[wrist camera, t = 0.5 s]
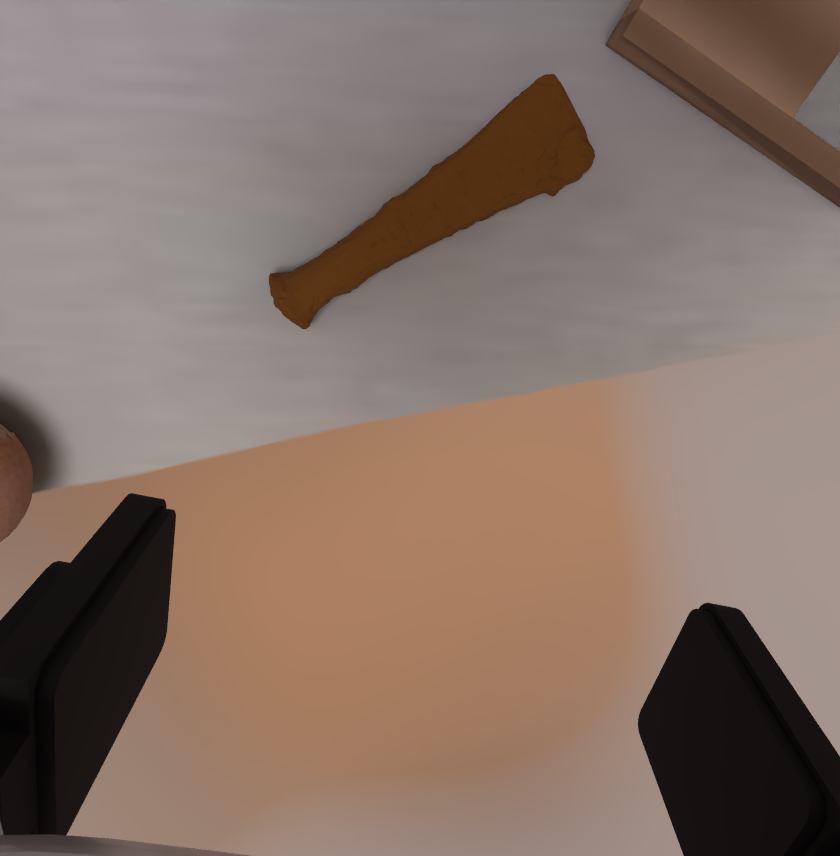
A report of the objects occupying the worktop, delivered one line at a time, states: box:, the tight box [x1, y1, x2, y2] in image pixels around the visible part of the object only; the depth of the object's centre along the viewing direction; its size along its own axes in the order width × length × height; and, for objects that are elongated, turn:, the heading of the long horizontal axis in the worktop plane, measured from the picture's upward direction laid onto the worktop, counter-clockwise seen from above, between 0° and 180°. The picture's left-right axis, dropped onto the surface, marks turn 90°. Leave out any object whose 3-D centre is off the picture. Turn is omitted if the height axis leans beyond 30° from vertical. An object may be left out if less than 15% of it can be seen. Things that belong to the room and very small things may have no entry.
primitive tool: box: [269, 74, 595, 329], centre depth 35 cm, size 19×6×4 cm, turn 124°
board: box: [606, 0, 840, 207], centre depth 31 cm, size 10×16×3 cm, turn 61°
